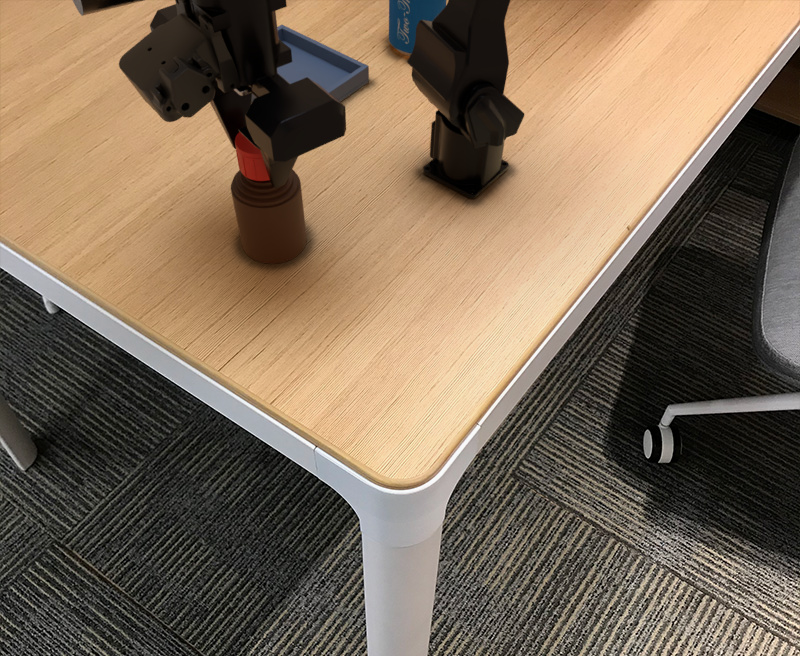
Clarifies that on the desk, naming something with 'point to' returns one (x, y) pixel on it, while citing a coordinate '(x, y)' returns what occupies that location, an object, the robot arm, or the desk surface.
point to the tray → (321, 65)
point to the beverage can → (409, 20)
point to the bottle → (269, 218)
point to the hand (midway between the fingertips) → (259, 165)
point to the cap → (250, 159)
